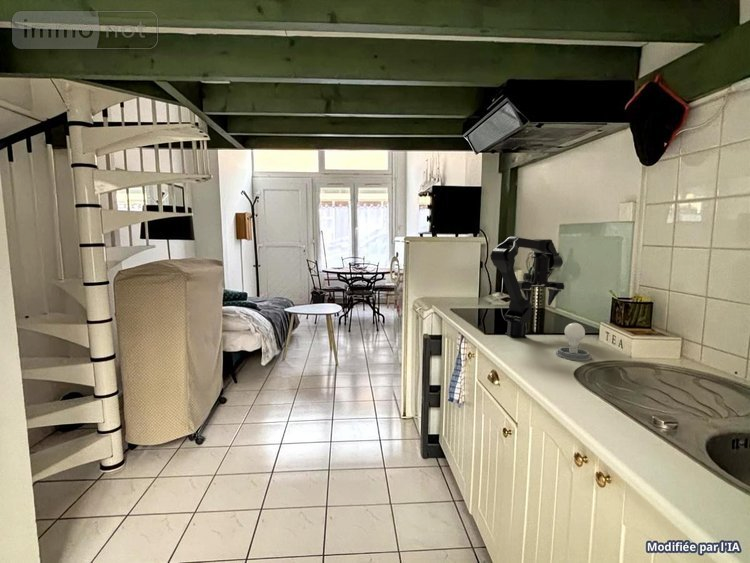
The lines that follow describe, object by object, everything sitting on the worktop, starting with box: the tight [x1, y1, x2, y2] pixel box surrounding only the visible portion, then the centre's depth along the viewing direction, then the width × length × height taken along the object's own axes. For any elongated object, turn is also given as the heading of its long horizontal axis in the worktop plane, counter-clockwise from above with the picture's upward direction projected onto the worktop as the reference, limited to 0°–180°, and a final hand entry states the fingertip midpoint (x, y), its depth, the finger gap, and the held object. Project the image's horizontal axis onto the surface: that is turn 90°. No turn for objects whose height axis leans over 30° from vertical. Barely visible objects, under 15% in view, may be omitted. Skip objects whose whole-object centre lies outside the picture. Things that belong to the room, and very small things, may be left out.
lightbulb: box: [564, 322, 586, 354], centre depth 138 cm, size 6×6×11 cm
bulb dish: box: [555, 346, 592, 362], centre depth 138 cm, size 11×11×2 cm
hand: (538, 305), depth 170 cm, fingers open, 9 cm apart
